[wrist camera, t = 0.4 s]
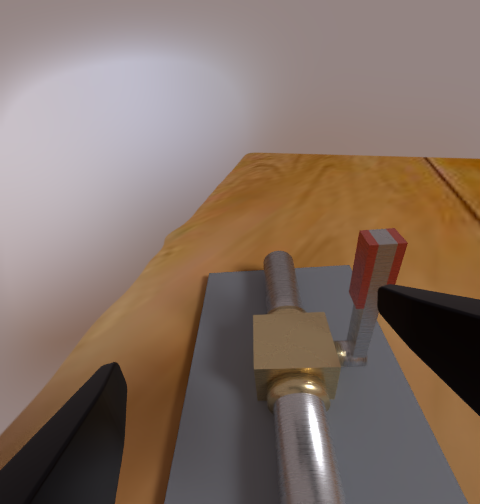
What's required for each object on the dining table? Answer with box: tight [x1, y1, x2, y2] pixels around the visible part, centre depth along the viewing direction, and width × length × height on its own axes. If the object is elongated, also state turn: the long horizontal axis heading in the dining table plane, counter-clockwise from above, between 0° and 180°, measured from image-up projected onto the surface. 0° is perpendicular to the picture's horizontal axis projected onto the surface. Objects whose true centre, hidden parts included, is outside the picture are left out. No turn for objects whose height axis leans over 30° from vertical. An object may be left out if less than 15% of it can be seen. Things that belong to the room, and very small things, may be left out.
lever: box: [333, 228, 408, 367], centre depth 19 cm, size 2×3×12 cm
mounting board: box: [164, 265, 468, 504], centre depth 23 cm, size 28×18×1 cm, turn 178°
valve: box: [253, 251, 347, 504], centre depth 22 cm, size 26×6×5 cm, turn 178°
